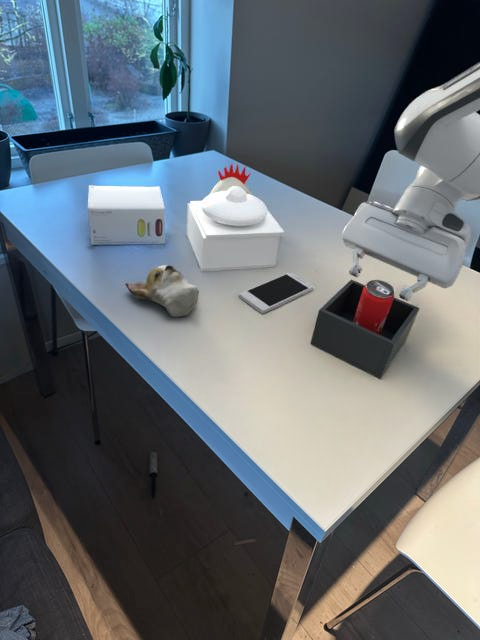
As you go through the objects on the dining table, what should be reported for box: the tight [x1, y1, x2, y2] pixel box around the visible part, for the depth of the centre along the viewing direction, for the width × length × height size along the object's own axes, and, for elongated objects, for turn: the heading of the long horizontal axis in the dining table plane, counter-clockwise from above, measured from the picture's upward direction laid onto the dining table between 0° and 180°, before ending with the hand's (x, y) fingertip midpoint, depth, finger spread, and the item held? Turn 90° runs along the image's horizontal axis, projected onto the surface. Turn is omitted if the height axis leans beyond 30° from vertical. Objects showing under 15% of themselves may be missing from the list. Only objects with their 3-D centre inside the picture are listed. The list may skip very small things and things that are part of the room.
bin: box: [310, 279, 421, 380], centre depth 81 cm, size 14×14×8 cm
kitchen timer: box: [209, 163, 253, 195], centre depth 115 cm, size 14×14×15 cm
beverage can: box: [353, 279, 396, 335], centre depth 78 cm, size 5×5×12 cm
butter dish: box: [186, 187, 285, 272], centre depth 102 cm, size 18×18×16 cm
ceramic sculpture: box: [124, 264, 200, 318], centre depth 85 cm, size 11×9×15 cm
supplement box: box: [87, 184, 166, 246], centre depth 106 cm, size 17×13×9 cm
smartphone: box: [239, 271, 315, 314], centre depth 93 cm, size 7×16×1 cm, turn 132°
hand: (377, 286), depth 75 cm, fingers open, 8 cm apart
